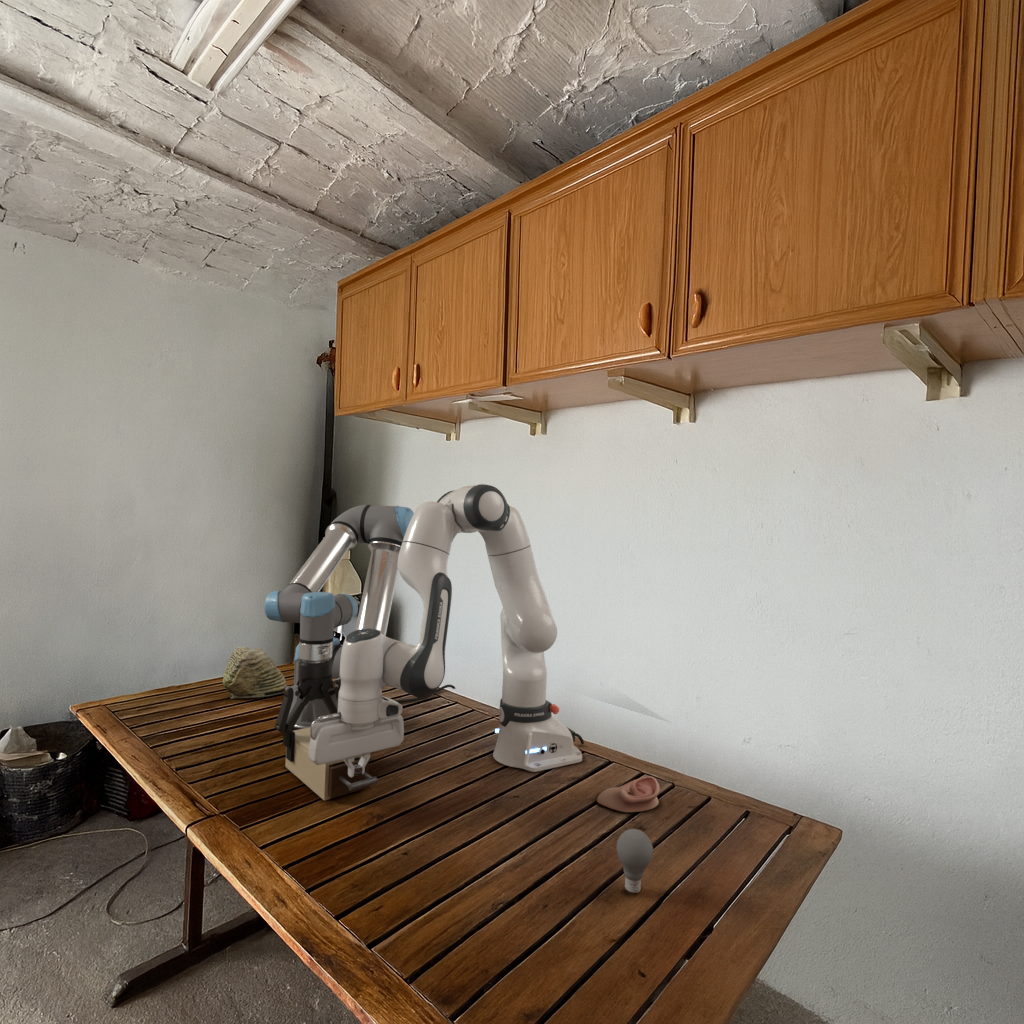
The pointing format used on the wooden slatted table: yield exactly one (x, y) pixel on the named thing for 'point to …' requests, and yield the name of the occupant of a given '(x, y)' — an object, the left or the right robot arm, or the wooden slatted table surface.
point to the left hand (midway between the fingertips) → (311, 754)
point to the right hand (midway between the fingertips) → (356, 774)
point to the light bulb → (634, 857)
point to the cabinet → (310, 765)
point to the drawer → (347, 779)
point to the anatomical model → (632, 795)
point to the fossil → (252, 674)
